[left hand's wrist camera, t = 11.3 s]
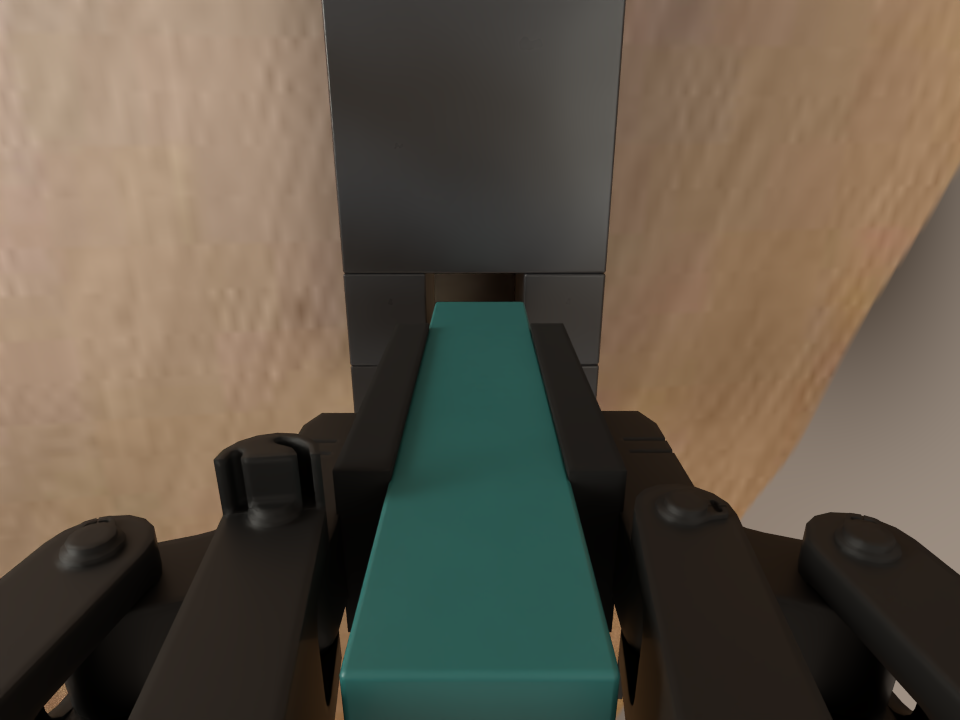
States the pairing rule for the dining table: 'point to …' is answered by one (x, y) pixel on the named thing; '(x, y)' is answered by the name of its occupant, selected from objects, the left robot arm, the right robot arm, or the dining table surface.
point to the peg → (479, 548)
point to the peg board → (472, 158)
